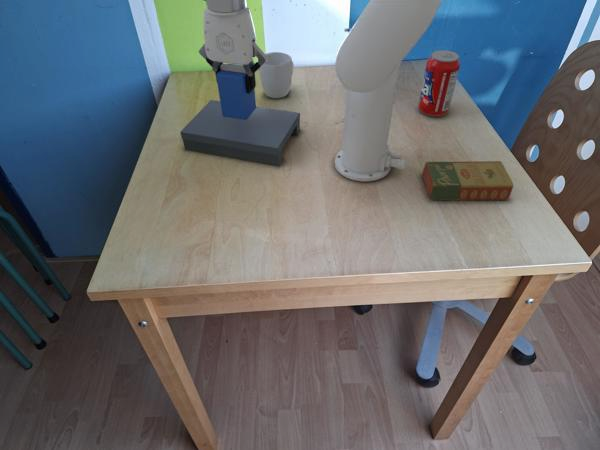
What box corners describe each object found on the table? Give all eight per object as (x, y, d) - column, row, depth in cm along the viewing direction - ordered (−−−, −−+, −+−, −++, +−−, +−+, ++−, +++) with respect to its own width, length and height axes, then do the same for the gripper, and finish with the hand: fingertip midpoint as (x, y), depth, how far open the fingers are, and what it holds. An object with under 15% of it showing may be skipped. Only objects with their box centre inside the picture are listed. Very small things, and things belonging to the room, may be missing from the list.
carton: (508, 201, 86) (515, 185, 83) (428, 201, 87) (433, 184, 84) (495, 176, 92) (501, 159, 89) (421, 175, 93) (425, 159, 90)
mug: (281, 103, 117) (279, 68, 110) (255, 96, 120) (251, 61, 113) (305, 85, 125) (304, 51, 118) (279, 78, 128) (278, 45, 121)
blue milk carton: (256, 107, 100) (252, 62, 93) (246, 120, 96) (241, 73, 88) (233, 104, 102) (227, 58, 94) (222, 116, 97) (215, 70, 90)
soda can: (447, 120, 109) (462, 63, 99) (416, 116, 111) (427, 60, 100) (448, 106, 115) (462, 50, 104) (418, 102, 116) (429, 47, 106)
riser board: (300, 130, 107) (299, 112, 103) (278, 166, 96) (277, 148, 92) (213, 117, 112) (210, 99, 109) (184, 149, 101) (180, 131, 98)
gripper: (177, 3, 82) (194, 91, 94) (260, 11, 78) (266, 102, 90) (195, -8, 87) (209, 76, 99) (274, -1, 83) (278, 86, 95)
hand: (236, 88), depth 95 cm, fingers closed on blue milk carton, 6 cm apart
